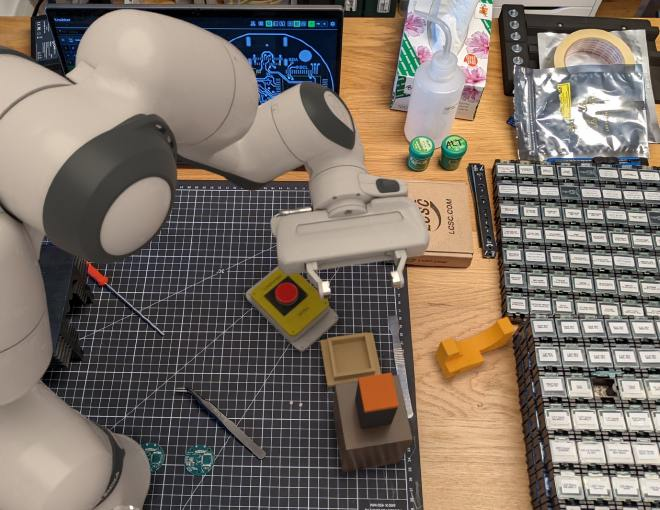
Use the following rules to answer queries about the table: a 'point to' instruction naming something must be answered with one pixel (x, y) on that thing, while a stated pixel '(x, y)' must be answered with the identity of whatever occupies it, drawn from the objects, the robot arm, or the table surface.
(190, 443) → the table surface
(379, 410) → the orange and black block
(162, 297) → the table surface
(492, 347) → the orange curved piece
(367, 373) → the base pad
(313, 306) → the emergency button
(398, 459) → the stand
